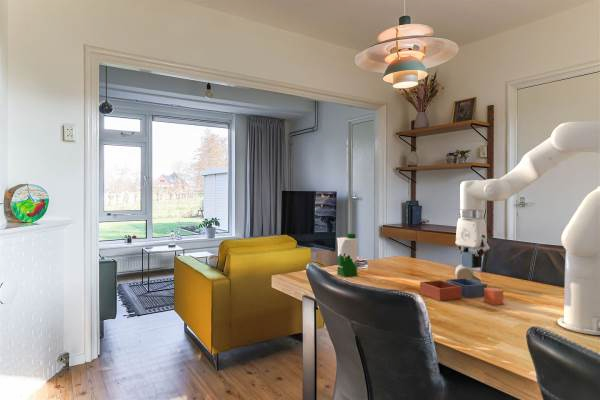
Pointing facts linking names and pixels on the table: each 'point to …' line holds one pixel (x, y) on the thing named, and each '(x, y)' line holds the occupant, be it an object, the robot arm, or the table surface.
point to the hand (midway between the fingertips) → (471, 265)
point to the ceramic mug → (465, 273)
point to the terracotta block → (493, 296)
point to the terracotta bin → (440, 290)
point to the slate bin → (469, 287)
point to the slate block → (468, 259)
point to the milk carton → (347, 255)
